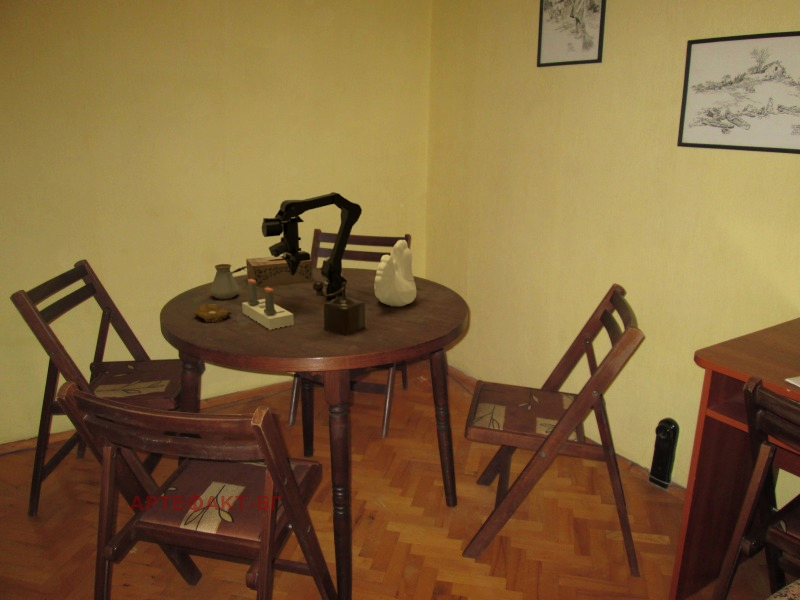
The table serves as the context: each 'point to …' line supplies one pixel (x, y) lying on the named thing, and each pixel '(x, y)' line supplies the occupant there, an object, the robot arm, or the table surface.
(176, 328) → the table surface
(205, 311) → the decorative rock
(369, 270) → the table surface
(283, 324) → the cream lever base
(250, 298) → the switch
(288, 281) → the tissue box cover
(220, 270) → the coffee pot
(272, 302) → the switch
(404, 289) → the cream foot sculpture
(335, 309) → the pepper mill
